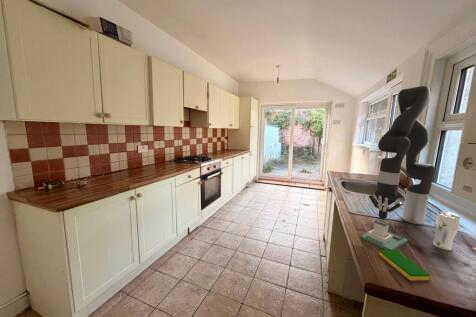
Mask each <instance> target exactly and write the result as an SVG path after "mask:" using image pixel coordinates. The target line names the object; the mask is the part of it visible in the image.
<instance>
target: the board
mask: <svg viewBox="0 0 476 317" xmlns="http://www.w3.org/2000/svg"><path fill="white" fill-rule="evenodd" d="M373 231H374V228H373V229H371V230H368V231H367V232H366V233H363V234H362V235H361V236H360V238H361V239H362V240H364V241H366V242H368V243H371V244H372V245H375V246H377V247H379V248H381V249H382V250H398V249H399V248H400V247H401V246H403V245H405V244H406V243H408V239H407V238H405V237H403V236H401V235H399V234H396V233H393V232H391V231H388V233H387V237H385V238H383V237H380V236H378V235H376V234H374V233H373Z"/></svg>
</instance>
